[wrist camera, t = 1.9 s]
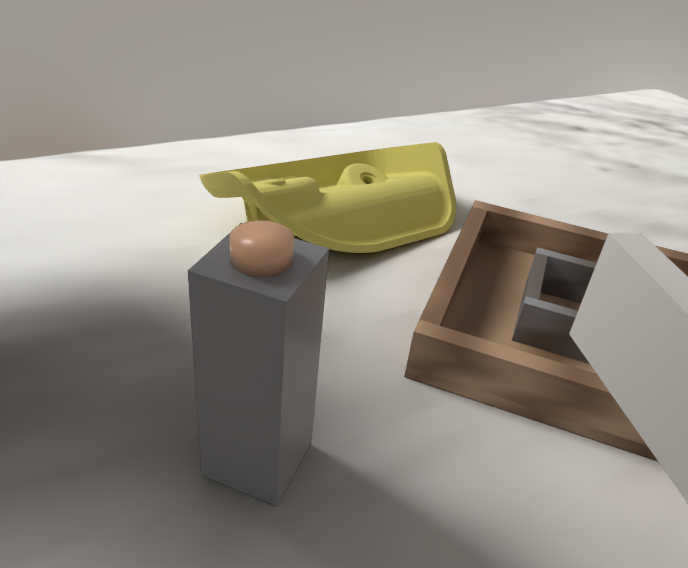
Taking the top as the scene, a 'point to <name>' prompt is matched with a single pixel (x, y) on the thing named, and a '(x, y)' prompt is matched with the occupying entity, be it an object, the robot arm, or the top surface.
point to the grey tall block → (257, 355)
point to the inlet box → (520, 324)
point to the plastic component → (349, 196)
